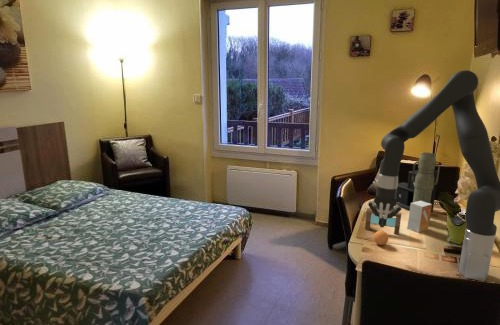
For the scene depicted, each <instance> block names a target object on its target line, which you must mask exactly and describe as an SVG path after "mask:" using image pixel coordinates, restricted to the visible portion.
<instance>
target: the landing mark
mask: <svg viewBox="0 0 500 325" xmlns="http://www.w3.org/2000/svg"><path fill="white" fill-rule="evenodd" d="M383 217H384V215H383ZM395 222H396V217H394V216H393V217H392V218H388V219H387V221H386V226H385V227H392V228H395ZM370 224H372V225H373V224H374V225H378V226H380V225H379V217H378V216H375V215H374V213H371V222H370Z"/></svg>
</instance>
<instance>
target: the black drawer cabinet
mask: <svg viewBox="0 0 500 325" xmlns="http://www.w3.org/2000/svg"><path fill="white" fill-rule="evenodd" d="M412 173H413V170H410V171H408V177H407V182H398V187H397V194H396V201H397V204H398V205H399V206H401V209H404V210H406V211H408V212H410V205H411V203H413V197H414V190H415V187H414V182H413V181H412ZM416 174H417V170H415V173H414V179H415V176H416ZM436 176H437V170H434V178H435V180H434V181H435V183H436ZM436 190H437V185H434V187H433V190H432V193H431V200H430V204H432V208H431V213H433V212H434V205H435V198H436Z"/></svg>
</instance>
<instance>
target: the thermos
mask: <svg viewBox="0 0 500 325" xmlns="http://www.w3.org/2000/svg"><path fill="white" fill-rule="evenodd" d="M416 165H417V170H416ZM436 166H437V170H435V169H436ZM440 168H441V166H440V164H439V163H437V159H436V154H434V153H433V152H422V153H420V155H419V158H418V161H415V162H414V163H413V164H412V171H413V173H412V181H413V182H414V187H415V190H414V197H413V202H417V201H423V202H427V203H430V200H431V193H432V190H433V187H434V185H436V186H437V185H438V182H439V175H440ZM415 171H417V174H416V176H415V179H414V173H415ZM434 171H437V176H436V183H435V181H434V180H435V178H434Z"/></svg>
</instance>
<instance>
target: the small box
mask: <svg viewBox="0 0 500 325" xmlns="http://www.w3.org/2000/svg"><path fill="white" fill-rule="evenodd" d="M431 208H432V204H430V203H427V202H423V201H417V202H413V203H411V205H410V211H408V212H409V213H408V220H407V221H408V222H407V227H406V228H407V229H409V230H411V231H413V232H416V233H419V234H420V233H421V232H425V231H427V230H429V227H430V226H429V225H430V219H431V215H432V214H431V213H432V212H431Z"/></svg>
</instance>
